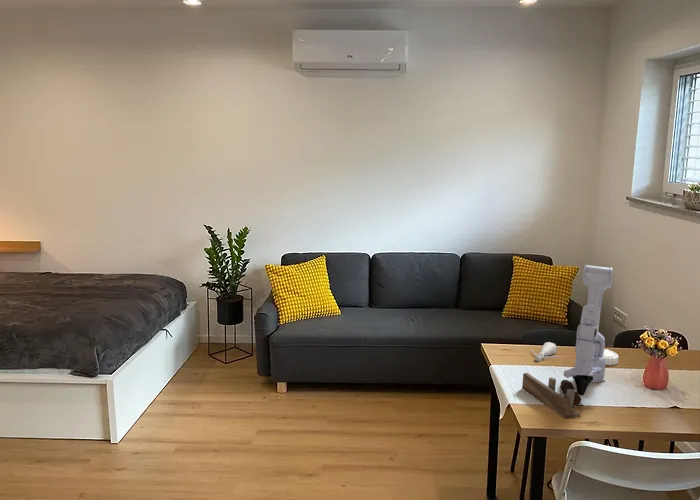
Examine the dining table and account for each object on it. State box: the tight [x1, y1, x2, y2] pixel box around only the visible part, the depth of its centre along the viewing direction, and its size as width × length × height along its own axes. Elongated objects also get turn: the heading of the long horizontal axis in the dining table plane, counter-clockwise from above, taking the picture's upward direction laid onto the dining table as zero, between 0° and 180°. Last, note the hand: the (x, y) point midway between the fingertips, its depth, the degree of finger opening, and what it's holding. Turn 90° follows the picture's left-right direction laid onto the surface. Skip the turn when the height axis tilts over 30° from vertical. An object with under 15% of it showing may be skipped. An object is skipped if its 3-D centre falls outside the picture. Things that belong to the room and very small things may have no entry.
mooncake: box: [603, 348, 620, 366], centre depth 248 cm, size 12×12×4 cm
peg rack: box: [521, 372, 582, 420], centre depth 207 cm, size 8×24×6 cm, turn 18°
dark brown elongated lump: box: [559, 379, 582, 407], centre depth 212 cm, size 6×5×15 cm
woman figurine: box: [530, 341, 558, 363], centre depth 251 cm, size 12×4×18 cm
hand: (580, 394), depth 211 cm, fingers closed
